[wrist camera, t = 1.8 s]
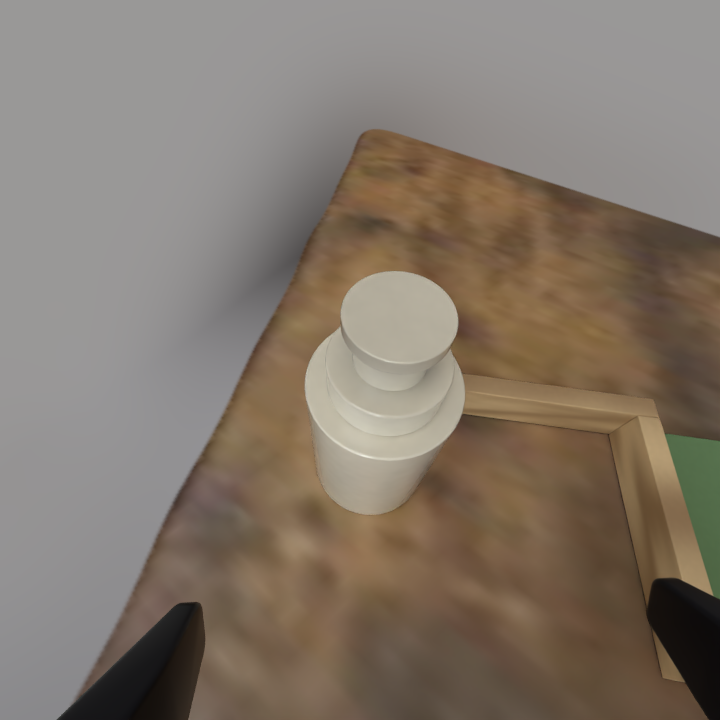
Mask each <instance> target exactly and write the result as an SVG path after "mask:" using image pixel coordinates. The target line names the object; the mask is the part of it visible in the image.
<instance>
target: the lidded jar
mask: <svg viewBox="0 0 720 720" xmlns="http://www.w3.org/2000/svg"><path fill="white" fill-rule="evenodd" d="M340 324H341V326H340V327H339V328H338V329H337V330H336V332H334V333H333V334H331V335H330V336H329V337H328V338H326V339H325V340H324V341H323V342H322V343H321V345H320V346H319V347H318V348H317V350H316V351H315V353H314V354H313V356H312V358H311V360H310V362H309V365H308V368H307V371H306V376H305V395H306V402H307V409H308V416H309V422H310V429H311V436H312V442H313V449H314V456H315V462H316V469H317V474H318V477H319V480H320V482H321V485H322V486H323V488H324V490H325V491H326V493H327V494H328V495H329V496H330V498H332V499H333V500H334V501H335V502H336V503H337V504H339V505H340V506H341V507H343V508H345V509H347V510H349V511H352V512H355V513H359V514H364V515H378V514H383V513H386V512H389V511H392V510H394V509H396V508H398V507H399V506H401V505H402V504H404V503H405V502H406V501H407V500H408V499H409V498H410V497H411V495H412V494H413V493H414V491H415V490H416V488H417V487H418V485H419V484H420V482H421V481H422V479H423V477H424V476H425V474H426V473H427V471H428V470H429V468H430V467H431V465H432V464H433V462H434V460H435V459H436V457H437V456H438V454H439V453H440V451H441V450H442V448H443V446H444V445H445V443H446V442H447V440H448V439H449V437H450V436H451V434H452V433H453V431H454V429H455V428H456V426H457V424H458V422H459V421H460V418H461V415H462V413H463V409H464V404H465V384H464V380H463V376H462V373H461V370H460V367H459V365H458V363H457V361H456V360H455V358H454V356H453V354H452V352H451V349H450V348H451V346H452V343H453V341H454V339H455V336H456V334H457V330H458V315H457V311H456V308H455V305H454V303H453V301H452V300H451V298H450V297H449V296H448V294H447V293H446V292H445V291H444V290H443V289H442V288H441V287H439V286H438V285H437V284H435V283H434V282H432V281H431V280H429V279H427V278H425V277H422V276H419V275H417V274H413V273H408V272H401V271H387V272H380V273H376V274H373V275H370V276H368V277H366V278H363V279H362V280H360V281H359V282H357V283H356V284H355V285H354V286H353V287H352V288H351V289H350V290H349V291H348V293H347V294H346V296H345V298H344V300H343V302H342V306H341V317H340Z"/></svg>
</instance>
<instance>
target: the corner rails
mask: <svg viewBox="0 0 720 720" xmlns="http://www.w3.org/2000/svg"><path fill="white" fill-rule="evenodd" d="M462 376H463V380H464V384H465V404H464V409H463V413H462V414H468V415H476V416H483V417H490V418H497V419H504V420H512V421H519V422H526V423H533V424H540V425H548V426H555V427H562V428H569V429H577V430H584V431H591V432H598V433H605V434H609V438H610V443H611V447H612V452H613V456H614V461H615V465H616V470H617V474H618V479H619V483H620V488H621V493H622V497H623V502H624V506H625V511H626V515H627V520H628V524H629V529H630V533H631V538H632V542H633V547H634V551H635V556H636V560H637V565H638V569H639V574H640V578H641V583H642V587H643V592H644V596H645V601H646V605H648V600H649V595H650V590H651V585H652V582H653V581H654V580H655V579H657V578H669V577H673V578H678V579H680V580H682V581H684V582H686V583H688V584H690V585H692V586H694V587H696V588H698V589H700V590H702V591H704V592H706V593H708V594H710V595H712V596H713V592H712V589H711V586H710V583H709V579H708V576H707V573H706V569H705V566H704V563H703V559H702V556H701V553H700V550H699V546H698V543H697V540H696V536H695V533H694V530H693V526H692V523H691V520H690V516H689V513H688V510H687V507H686V503H685V500H684V497H683V493H682V490H681V487H680V483H679V480H678V477H677V474H676V470H675V467H674V464H673V460H672V457H671V454H670V450H669V447H668V444H667V440H666V437H665V434H664V431H663V427H662V424H661V421H660V419H659V415H658V412H657V409H656V405H655V402H654V400H653V399H649V398H641V397H634V396H626V395H619V394H612V393H604V392H597V391H590V390H582V389H575V388H568V387H560V386H553V385H545V384H538V383H531V382H523V381H516V380H509V379H501V378H494V377H486V376H479V375H472V374H464V373H462ZM651 628H652V627H651ZM652 632H653V637H654V642H655V646H656V651H657V655H658V660H659V664H660V669H661V673H662V677H663V678H665V679H670V680H674V681H679V682H684V683H685V681H684V679H683V678H682V676H681V675H680V673H679V671H678V670H677V668H676V666H675V665H674V663H673V662H672V660H671V658H670V657H669V655H668V653H667V652H666V650H665V649H664V647H663V645H662V644H661V642H660V640H659V639H658V637H657V636H656V634H655V632H654V631H653V629H652Z"/></svg>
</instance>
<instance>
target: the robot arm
mask: <svg viewBox="0 0 720 720" xmlns="http://www.w3.org/2000/svg"><path fill="white" fill-rule="evenodd" d="M647 618H648V621H649V623H650V626H651V627H652V629H653V631H654V632H655V634H656V636H657V637H658V639H659V640H660V642H661V644H662V645H663V647H664V649H665V650H666V652H667V653H668V655H669V657H670V658H671V660H672V662H673V663H674V665H675V666H676V668H677V670H678V671H679V673H680V675H681V676H682V678H683V679H684V681H685V683H686V684H687V686H688V688H689V689H690V691H691V692H692V694H693V696H694V697H695V699H696V701H697V702H698V704H699V705H700V707H701V708H702V710H703V711H704V713H705V715H706V716H707V717H708V719H709V720H720V599H718V598H716V597H714V596H712V595H710V594H708V593H706V592H704V591H702V590H700V589H698V588H696V587H694V586H692V585H690V584H688V583H686V582H684V581H682V580H680V579H678V578H673V577H669V578H657V579H655V580H654V581H653V582H652V585H651V590H650V595H649V600H648V605H647ZM204 648H205V630H204V620H203V611H202V606H201V604H200V603H198V602H188V603H179V604H177V605H176V606H174V607H173V608H172V609H171V610H170V611H169V612H168V613H167V614H166V615H165V616H164V617H163V618H162V619H161V620H160V621H159V622H158V623H157V624H156V625H155V626H154V627H153V628H151V629H150V630H149V631H148V632H147V633H146V634H145V635H144V636H143V637H142V638H141V639H140V640H139V641H138V642H137V643H136V644H135V645H134V646H133V647H132V648H131V649H130V650H129V651H128V652H127V653H126V654H124V655H123V656H122V657H121V658H120V659H119V660H118V661H117V662H116V663H115V664H114V665H113V666H112V667H111V668H110V669H109V670H108V671H107V672H106V673H105V674H104V675H103V676H102V677H101V678H100V679H98V680H97V681H96V682H95V683H94V684H93V685H92V686H91V687H90V688H89V689H88V690H87V691H86V692H85V693H84V694H83V695H82V696H81V697H80V698H79V699H78V700H77V701H76V702H75V703H74V704H73V705H71V706H70V707H69V708H68V709H67V710H66V711H65V712H64V713H63V714H62V715H61V716H60V717H59V718H58V719H57V720H188V718H189V713H190V709H191V705H192V701H193V696H194V692H195V688H196V683H197V679H198V675H199V671H200V666H201V662H202V658H203V653H204Z"/></svg>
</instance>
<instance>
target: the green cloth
mask: <svg viewBox="0 0 720 720" xmlns="http://www.w3.org/2000/svg"><path fill="white" fill-rule="evenodd" d="M665 437H666V440H667V444H668V447H669V450H670V454H671V457H672V460H673V464H674V467H675V470H676V474H677V477H678V480H679V483H680V487H681V490H682V493H683V497H684V500H685V503H686V507H687V510H688V513H689V516H690V520H691V523H692V526H693V530H694V533H695V536H696V540H697V543H698V546H699V550H700V553H701V556H702V559H703V563H704V566H705V569H706V573H707V576H708V579H709V583H710V586H711V589H712V592H713V596H714V597H716V598H718V599H720V441H715V440H708V439H700V438H693V437H686V436H679V435H671V434H665Z"/></svg>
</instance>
